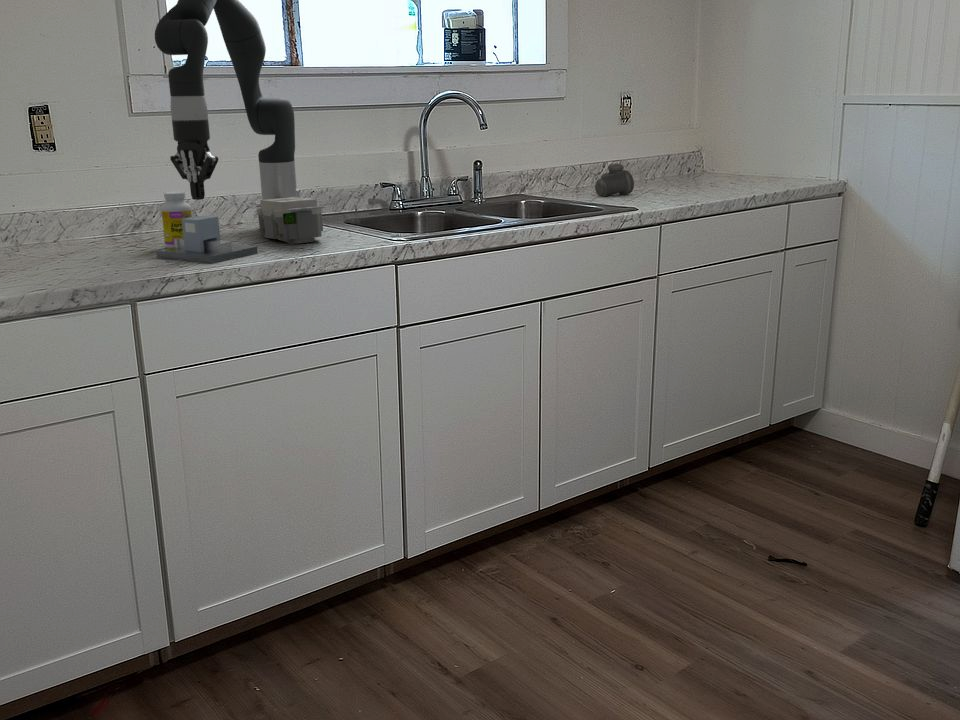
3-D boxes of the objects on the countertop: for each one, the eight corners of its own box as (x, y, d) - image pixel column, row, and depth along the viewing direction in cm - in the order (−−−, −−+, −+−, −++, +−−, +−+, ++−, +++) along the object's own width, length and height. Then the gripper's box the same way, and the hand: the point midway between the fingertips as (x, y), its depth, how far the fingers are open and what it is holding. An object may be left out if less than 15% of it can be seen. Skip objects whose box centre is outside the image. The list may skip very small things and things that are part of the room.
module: (205, 246, 210) (202, 215, 208) (221, 247, 207) (218, 216, 205) (184, 250, 205) (181, 218, 203) (200, 252, 202) (197, 220, 200)
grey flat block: (204, 247, 217) (202, 232, 216) (257, 253, 209) (256, 237, 208) (156, 257, 206) (155, 241, 205) (211, 263, 197) (209, 247, 196)
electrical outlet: (287, 246, 213) (283, 203, 210) (252, 239, 237) (247, 199, 235) (335, 241, 218) (331, 199, 216) (295, 234, 243) (291, 196, 240)
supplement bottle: (169, 250, 214) (163, 194, 210) (162, 246, 219) (155, 192, 216) (198, 247, 218) (192, 192, 214) (190, 243, 223) (184, 190, 219)
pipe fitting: (619, 191, 309) (619, 161, 305) (635, 195, 303) (635, 164, 299) (591, 198, 304) (590, 167, 300) (606, 202, 298) (605, 171, 293)
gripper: (225, 117, 198) (232, 199, 202) (182, 117, 204) (190, 196, 209) (198, 118, 191) (206, 202, 196) (154, 118, 198) (164, 199, 203)
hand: (198, 199), depth 203 cm, fingers closed
